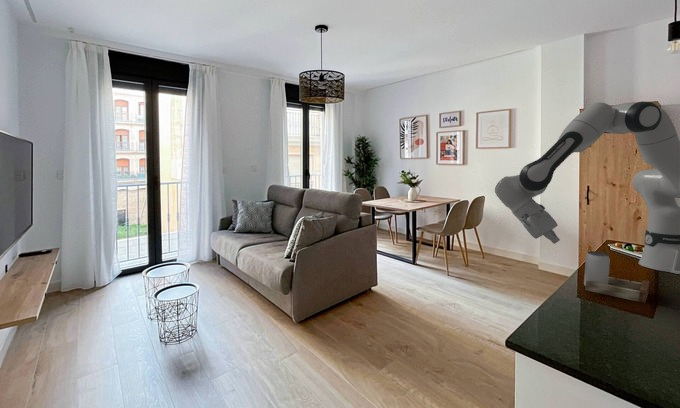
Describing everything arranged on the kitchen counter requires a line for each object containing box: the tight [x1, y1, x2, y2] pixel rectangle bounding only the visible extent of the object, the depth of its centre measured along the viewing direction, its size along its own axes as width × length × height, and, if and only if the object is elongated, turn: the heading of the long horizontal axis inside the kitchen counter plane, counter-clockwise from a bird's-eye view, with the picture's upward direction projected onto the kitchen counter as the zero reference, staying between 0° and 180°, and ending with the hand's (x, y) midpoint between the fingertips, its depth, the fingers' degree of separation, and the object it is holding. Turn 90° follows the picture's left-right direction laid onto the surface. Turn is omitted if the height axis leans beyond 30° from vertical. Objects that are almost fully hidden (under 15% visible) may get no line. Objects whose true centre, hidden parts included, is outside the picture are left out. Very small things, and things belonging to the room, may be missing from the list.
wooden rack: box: [584, 276, 650, 304], centre depth 109 cm, size 15×10×4 cm
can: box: [583, 250, 611, 286], centre depth 113 cm, size 6×6×12 cm
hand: (557, 242), depth 120 cm, fingers closed
